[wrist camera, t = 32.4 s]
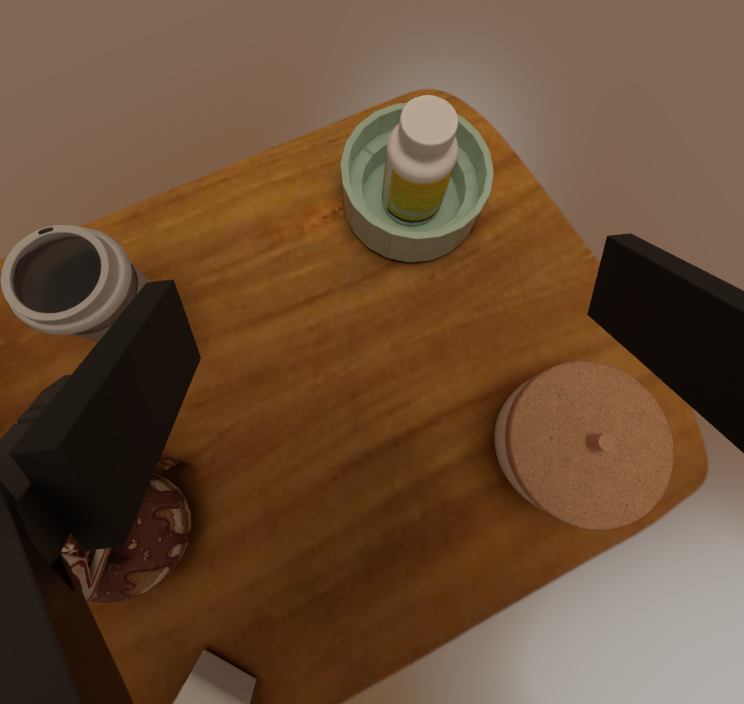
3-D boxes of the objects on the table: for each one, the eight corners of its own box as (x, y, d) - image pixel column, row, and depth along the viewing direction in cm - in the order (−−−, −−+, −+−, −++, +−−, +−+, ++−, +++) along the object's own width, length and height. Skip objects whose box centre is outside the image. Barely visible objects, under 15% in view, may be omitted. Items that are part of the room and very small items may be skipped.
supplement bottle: (450, 217, 38) (480, 141, 28) (393, 235, 38) (405, 164, 28) (428, 166, 39) (450, 77, 29) (373, 182, 39) (377, 97, 29)
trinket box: (491, 362, 36) (537, 336, 27) (615, 396, 36) (704, 380, 26) (464, 489, 34) (503, 508, 25) (595, 526, 33) (684, 559, 24)
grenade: (130, 438, 34) (-46, 438, 19) (227, 466, 34) (124, 487, 19) (82, 562, 32) (-155, 666, 17) (185, 592, 32) (33, 724, 17)
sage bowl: (350, 270, 37) (349, 244, 32) (337, 148, 40) (334, 107, 35) (486, 257, 38) (505, 230, 33) (465, 138, 40) (479, 97, 35)
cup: (186, 278, 37) (104, 202, 25) (207, 349, 35) (131, 304, 24) (104, 304, 36) (-20, 238, 24) (122, 377, 35) (1, 346, 23)
